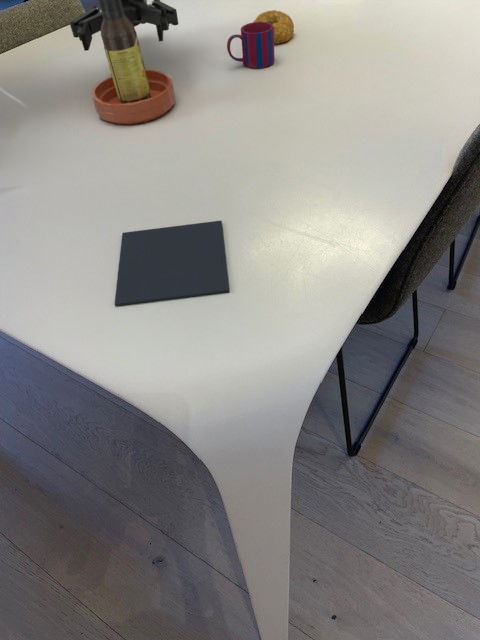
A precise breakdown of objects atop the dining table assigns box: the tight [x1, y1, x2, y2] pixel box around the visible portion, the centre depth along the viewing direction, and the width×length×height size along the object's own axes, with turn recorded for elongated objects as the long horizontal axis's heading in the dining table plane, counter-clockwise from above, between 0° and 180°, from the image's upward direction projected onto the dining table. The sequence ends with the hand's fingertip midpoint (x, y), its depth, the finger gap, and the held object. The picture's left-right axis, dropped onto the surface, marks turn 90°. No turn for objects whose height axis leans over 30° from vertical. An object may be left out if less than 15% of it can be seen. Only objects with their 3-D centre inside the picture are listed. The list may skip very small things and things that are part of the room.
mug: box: [226, 21, 275, 70], centre depth 103 cm, size 7×10×7 cm
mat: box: [114, 220, 230, 307], centre depth 64 cm, size 14×14×1 cm
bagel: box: [253, 9, 295, 45], centre depth 112 cm, size 10×11×5 cm
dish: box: [91, 69, 176, 125], centre depth 94 cm, size 15×15×4 cm
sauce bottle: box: [98, 0, 151, 104], centre depth 88 cm, size 6×6×20 cm
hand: (121, 37), depth 88 cm, fingers open, 13 cm apart
